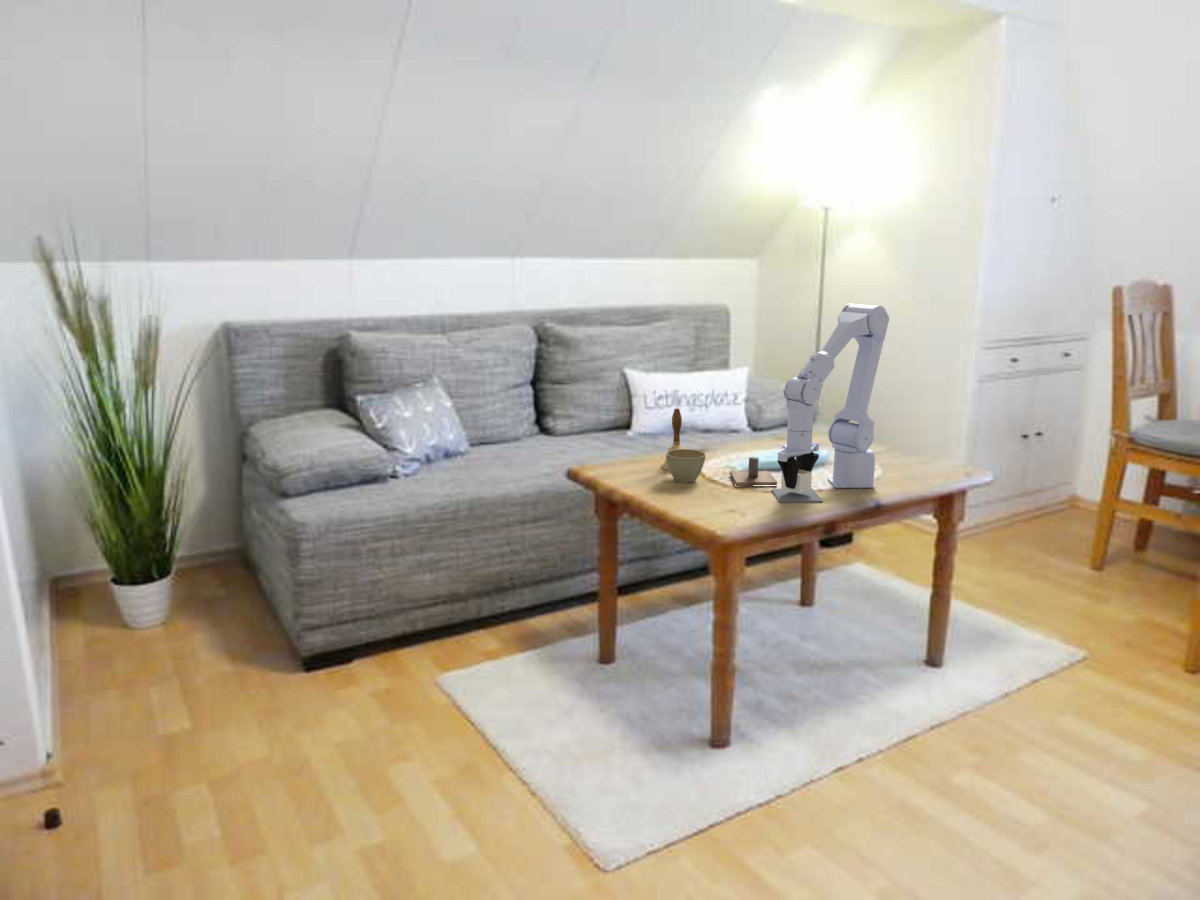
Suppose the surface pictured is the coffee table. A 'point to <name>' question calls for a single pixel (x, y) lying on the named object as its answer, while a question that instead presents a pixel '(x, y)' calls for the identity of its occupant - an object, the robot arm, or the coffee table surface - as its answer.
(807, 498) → the mat
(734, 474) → the post stand
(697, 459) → the flower pot
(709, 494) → the coffee table surface
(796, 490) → the cream cube
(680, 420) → the hand bell
